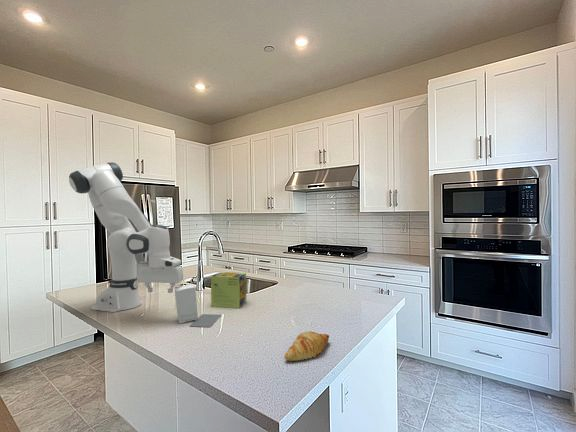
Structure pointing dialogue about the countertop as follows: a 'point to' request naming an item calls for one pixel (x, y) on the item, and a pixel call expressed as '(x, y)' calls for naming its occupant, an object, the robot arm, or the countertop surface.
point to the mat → (205, 320)
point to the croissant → (306, 346)
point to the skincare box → (186, 303)
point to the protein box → (228, 289)
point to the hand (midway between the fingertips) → (160, 292)
